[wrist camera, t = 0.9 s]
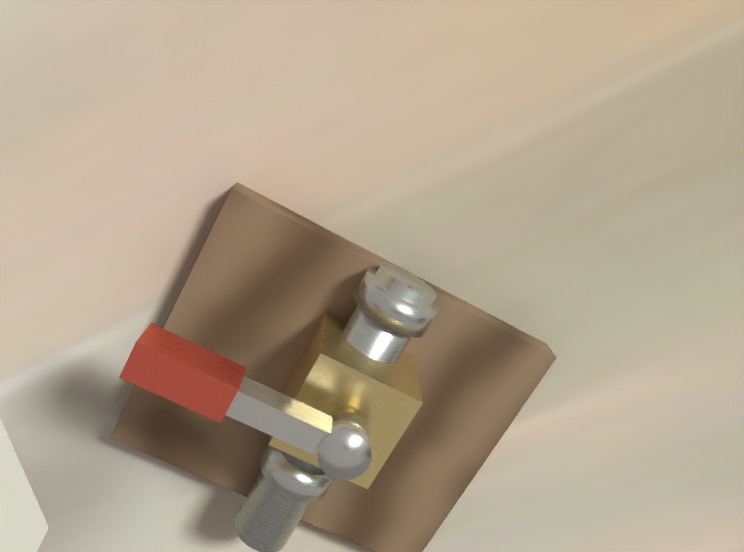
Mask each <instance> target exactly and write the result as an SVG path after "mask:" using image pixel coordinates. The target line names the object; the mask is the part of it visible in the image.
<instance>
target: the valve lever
mask: <svg viewBox="0 0 744 552" xmlns="http://www.w3.org/2000/svg"><path fill="white" fill-rule="evenodd" d="M245 371H246V367H244V366H242V365H240V364H238V363H236V362H234V361H231V360H229V359H227V358H225V357H223V356H221V355H219V354H217V353H214V352H212V351H210V350H208V349H206V348H204V347H202V346H199V345H197V344H195V343H193V342H191V341H189V340H187V339H185V338H182V337H180V336H178V335H176V334H174V333H172V332H170V331H167V330H165V329H163V328H161V327H159V326H157V325H155V324H153V323H151V324H150V326H149V327H148V328H147V329H146V330H145V332H144V333H143V334H142V335H141V337H140V338H139V339H138V340H137V342H136V344H135V346H134V348H133V350H132V352H131V354H130V356H129V358H128V360H127V362H126V365H125V367H124V369H123V371H122V373H121V375H120V377H119V378H121V379H124V380H126V381H128V382H130V383H133V384H135V385H137V386H139V387H142V388H144V389H146V390H148V391H150V392H153V393H155V394H157V395H159V396H162V397H164V398H166V399H168V400H171V401H173V402H175V403H177V404H179V405H182V406H184V407H186V408H188V409H191V410H193V411H195V412H197V413H200V414H202V415H204V416H206V417H208V418H211V419H213V420H215V421H217V422H220V423H221V421H222V420H223V418H224V416H225V415H227V416H229V417H231V418H233V419H235V420H238V421H240V422H242V423H244V424H247V425H249V426H251V427H253V428H255V429H258V430H260V431H262V432H264V433H266V434H269V435H271V436H273V437H275V438H278V439H280V440H282V441H284V442H286V443H289V444H291V445H293V446H295V447H297V448H300V449H302V450H304V451H306V452H309V453H311V454H313V455H315V456H317V459H318V464H319V466H320V468H321V469H322V471H323V472H324V473H325V474H327V475H328V476H330V477H332V478H334V479H338V480H350V479H354V478H357V477H359V476H360V475H362V474H363V473H364V472H365V471H366V470H367V469H368V467H369V465H370V463H371V436H370V428H369V426H368V424H367V422H366V421H365V420H364V419H363V418H362V417H361V416H359V415H357V414H355V413H351V412H339V413H335V414H333V415H331V416H329V415H327V414H325V413H323V412H321V411H319V410H317V409H314V408H312V407H310V406H308V405H306V404H304V403H302V402H299V401H297V400H295V399H293V398H291V397H289V396H286V395H284V394H282V393H280V392H278V391H276V390H274V389H271V388H269V387H267V386H265V385H263V384H261V383H259V382H256V381H254V380H252V379H250V378H248V377H246V376H244V374H245Z"/></svg>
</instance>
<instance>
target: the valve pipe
mask: <svg viewBox="0 0 744 552" xmlns="http://www.w3.org/2000/svg"><path fill="white" fill-rule="evenodd" d="M353 296H354V299H355V301H356V303H357V304H358V305H357V307H356V308H355V310H354V312H353V314H352V315H351V317H350V319H349V321H348V322H347V321H345V320H343V319H341V318H339V317H337V316H335V315H333V314H331V313H329V312H327V311H325V313H324V314H323V316H322V318H321V320H320V322H319V323H318V325H317V327H316V329H315V330H314V332H313V334H312V336H311V338H310V339H309V341H308V343H307V345H306V346H305V348H304V350H303V352H302V354H301V355H300V357H299V359H298V361H297V363H296V364H295V366H294V368H293V370H292V371H291V373H290V375H289V377H288V379H287V380H286V382H285V384H284V386H283V387H282V389H281V392H280V393H282V394H284V395H286V396H289V397H291V398H293V399H295V400H297V401H299V402H302V403H304V404H306V405H308V406H310V407H312V408H314V409H317V410H319V411H321V412H323V413H325V414H327V415H329V416H331V415H333V414H335V413H339V412H351V413H355V414H357V415H359V416H361V417H362V418H363V419H364V420H365V421H366V422H367V424H368V426H369V428H370V436H371V463H370V465H369V467H368V469H367V470H366V471H365V472H364V473H363V474H362V475H360V476H359V477H357V478H354V479H350V480H348V481H350V482H352V483H355V484H357V485H359V486H361V487H364V488H366V489H368V488H369V487H370V485H371V483H372V482H373V480H374V479H375V477H376V476H377V474H378V472H379V471H380V469H381V468H382V466H383V465H384V463H385V462H386V460H387V458H388V457H389V455H390V454H391V452H392V451H393V449H394V447H395V446H396V444H397V443H398V441H399V440H400V438H401V436H402V435H403V433H404V432H405V430H406V429H407V427H408V425H409V424H410V422H411V421H412V419H413V418H414V416H415V415H416V413H417V411H418V410H419V408H420V407H421V405H422V404H423V401H422V396H421V391H420V387H419V382H418V377H417V373H416V368H415V364H414V359H413V354H411V353H409V352H407V351H405V350H404V349H405V348H406V346H407V344H408V343H409V341H410V339H411V338H412V337H422V336H423V335H424V334H425V332H426V330H427V329H428V327H429V326H430V324H431V322H432V321H433V319H434V317H435V316H436V314H437V313H438V307H437V305H436V304H435V303H434V300H435V299H436V297H437V294H436V292H435V291H434V289H433V288H432V287H431V286H429V285H428V284H427V283H426V282H424V281H423V280H422V279H420V278H419V277H417V276H416V275H414V274H412V273H411V272H409V271H407V270H405V269H403V268H401V267H399V266H396V265H394V264H390V263H381V265H380V267H379V269H376V268H369V269H368V270H367V272H366V273H365V275H364V277H363V279H362V280H361V282H360V284H359V286H358V287H357V289H356V291H355V293H354V295H353ZM260 468H261V471H262V472H261V473H260V475H259V477H258V479H257V480H256V482H255V484H254V486H253V487H252V489H251V491H250V493H249V494H248V496H247V498H246V500H245V501H244V503H243V505H242V506H241V508H240V510H239V512H238V513H237V515H236V517H235V521H234V526H235V530H236V532H237V534H238V536H239V537H240V538H241V540H242V541H243V542H244V543H245V544H247V545H248V546H249V547H251V548H253V549H255V550H257V551H260V552H277V551H279V550H281V549H282V548H283V547H284V545H285V544H286V542H287V541H288V539H289V537H290V536H291V534H292V532H293V531H294V529H295V527H296V526H297V524H298V523H299V521H300V519H301V518H302V516H303V514H304V513H305V511H306V509H307V508H308V506H309V505H310V503H311V502H314V501H318V500H320V499H322V498H323V497H324V496H325V494H326V492H327V491H328V489H329V488H330V486H331V484H332V483H333V481H334V480H335V479H334V478H332V477H330V476H328V475H327V474H325V473H324V472H323V471H322V469H321V468H320V466H319V464H318V459H317V456H315V455H313V454H311V453H309V452H306V451H304V450H302V449H300V448H297V447H295V446H293V445H291V444H289V443H286V442H284V441H282V440H280V439H278V438H275V437H273V436H270V440H269V443H268V445H267V447H266V448H265V450H264V452H263V454H262V455H261V458H260Z"/></svg>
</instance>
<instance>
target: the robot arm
mask: <svg viewBox="0 0 744 552" xmlns="http://www.w3.org/2000/svg"><path fill="white" fill-rule="evenodd" d="M48 528H49V527H48V525H47V522H46V520H45V518H44V516H43V513H42V511H41V509H40V507H39V504H38V502H37V500H36V498H35V495H34V493H33V491H32V489H31V486H30V484H29V482H28V480H27V477H26V475H25V473H24V471H23V468H22V466H21V464H20V462H19V459H18V457H17V455H16V453H15V450H14V448H13V446H12V444H11V441H10V439H9V437H8V434H7V432H6V430H5V428H4V425H3V423H2V421H1V419H0V552H37V551H38V549H39V547H40V545H41V543H42V541H43V538H44V536H45V534H46V532H47V530H48Z"/></svg>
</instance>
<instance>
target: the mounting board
mask: <svg viewBox="0 0 744 552" xmlns="http://www.w3.org/2000/svg"><path fill="white" fill-rule="evenodd" d="M381 263H390V262H388V261H386V260H385V259H383V258H381V257H379V256H377V255H375V254H373V253H371V252H369V251H367V250H365V249H364V248H362V247H360V246H358V245H356V244H354V243H352V242H350V241H348V240H346V239H344V238H342V237H341V236H339V235H337V234H335V233H333V232H331V231H329V230H327V229H325V228H323V227H321V226H320V225H318V224H316V223H314V222H312V221H310V220H308V219H306V218H304V217H302V216H300V215H298V214H297V213H295V212H293V211H291V210H289V209H287V208H285V207H283V206H281V205H279V204H277V203H276V202H274V201H272V200H270V199H268V198H266V197H264V196H262V195H260V194H258V193H256V192H254V191H253V190H251V189H249V188H247V187H245V186H243V185H241V184H239V183H237V184H236V185H235V186H234V187H233V188H231V190H230V192H229V195H228V197H227V199H226V201H225V203H224V205H223V207H222V209H221V211H220V213H219V215H218V217H217V219H216V221H215V223H214V225H213V227H212V229H211V232H210V234H209V236H208V238H207V240H206V242H205V244H204V246H203V248H202V250H201V252H200V254H199V256H198V258H197V260H196V262H195V264H194V266H193V268H192V271H191V273H190V275H189V277H188V279H187V281H186V283H185V285H184V287H183V289H182V291H181V293H180V295H179V297H178V299H177V301H176V303H175V305H174V308H173V310H172V312H171V314H170V316H169V318H168V320H167V322H166V324H165V326H164V328H163V329H165V330H167V331H170V332H172V333H174V334H176V335H178V336H180V337H182V338H185V339H187V340H189V341H191V342H193V343H195V344H197V345H199V346H202V347H204V348H206V349H208V350H210V351H212V352H214V353H217V354H219V355H221V356H223V357H225V358H227V359H229V360H231V361H234V362H236V363H238V364H240V365H242V366H244V367H246V371H245V374H244V376H246V377H248V378H250V379H252V380H254V381H256V382H259V383H261V384H263V385H265V386H267V387H269V388H271V389H274V390H276V391H278V392H281V389H282V387H283V386H284V384H285V382H286V380H287V379H288V377H289V375H290V373H291V371H292V370H293V368H294V366H295V364H296V363H297V361H298V359H299V357H300V355H301V354H302V352H303V350H304V348H305V346H306V345H307V343H308V341H309V339H310V338H311V336H312V334H313V332H314V330H315V329H316V327H317V325H318V323H319V322H320V320H321V318H322V316H323V314H324V313H325V311H327V312H329V313H331V314H333V315H335V316H337V317H339V318H341V319H343V320H345V321H347V322H348V321H349V319H350V317H351V315H352V314H353V312H354V310H355V308H356V307H357V305H358V304H357V303H356V301H355V299H354V296H353V295H354V293H355V291H356V289H357V287H358V286H359V284H360V282H361V280H362V279H363V277H364V275H365V273H366V272H367V270H368V269H369V268H376V269H379V267H380V265H381ZM390 264H392V263H390ZM420 279H421V278H420ZM422 280H423V279H422ZM423 281H424V282H426V283H427V284H428V285H429V286H431V287H432V288H433V289H434V291H435V292H436V294H437V297H436V299H435V300H434V303H435V304H436V305H437V307H438V313H437V314H436V316H435V317H434V319H433V321H432V322H431V324H430V326H429V327H428V329H427V330H426V332H425V334H424V335H423V336H422V337H412V338H411V339H410V341H409V343H408V344H407V346H406V348H405V349H404V350H405V351H407V352H409V353H411V354H413V359H414V364H415V368H416V373H417V377H418V382H419V387H420V391H421V396H422V401H423V404H422V405H421V407H420V408H419V410H418V411H417V413H416V415H415V416H414V418H413V419H412V421H411V422H410V424H409V425H408V427H407V429H406V430H405V432H404V433H403V435H402V436H401V438H400V440H399V441H398V443H397V444H396V446H395V447H394V449H393V451H392V452H391V454H390V455H389V457H388V458H387V460H386V462H385V463H384V465H383V466H382V468H381V469H380V471H379V472H378V474H377V476H376V477H375V479H374V480H373V482H372V483H371V485H370V487H369V488H368V489H366V488H364V487H361V486H359V485H357V484H355V483H352V482H350V481H348V480H338V479H335V480H334V481H333V483H332V484H331V486H330V488H329V489H328V491H327V492H326V494H325V496H324V497H323V498H322V499H320V500H318V501H314V502H311V503H310V505H309V506H308V508H307V509H306V511H305V513H304V514H303V516H302V518H301V519H300V520H302V521H305V522H307V523H309V524H312V525H314V526H316V527H319V528H321V529H323V530H326V531H328V532H330V533H333V534H335V535H337V536H340V537H342V538H344V539H347V540H349V541H351V542H354V543H356V544H358V545H361V546H363V547H365V548H368V549H370V550H372V551H375V552H423V550H424V549H425V547H426V546H427V544H428V543H429V541H430V540H431V539H432V537H433V536H434V534H435V533H436V531H437V530H438V528H439V527H440V526H441V524H442V523H443V521H444V520H445V518H446V517H447V515H448V514H449V512H450V511H451V510H452V508H453V507H454V505H455V504H456V502H457V501H458V499H459V498H460V497H461V495H462V494H463V492H464V491H465V489H466V488H467V486H468V485H469V484H470V482H471V481H472V479H473V478H474V476H475V475H476V473H477V472H478V470H479V469H480V468H481V466H482V465H483V463H484V462H485V460H486V459H487V457H488V456H489V455H490V453H491V452H492V450H493V449H494V447H495V446H496V444H497V443H498V441H499V440H500V439H501V437H502V436H503V434H504V433H505V431H506V430H507V428H508V427H509V426H510V424H511V423H512V421H513V420H514V418H515V417H516V415H517V414H518V413H519V411H520V410H521V408H522V407H523V405H524V404H525V402H526V401H527V399H528V398H529V397H530V395H531V394H532V392H533V391H534V389H535V388H536V386H537V385H538V384H539V382H540V381H541V379H542V378H543V376H544V375H545V373H546V372H547V371H548V369H549V368H550V366H551V365H552V363H553V362H554V360H555V359H556V356H555V355H554V353H553V352H552V351H551V349H550V348H549V347H548V345H547V344H545V343H543V342H541V341H539V340H538V339H536V338H534V337H532V336H530V335H528V334H526V333H524V332H522V331H520V330H518V329H517V328H515V327H513V326H511V325H509V324H507V323H505V322H503V321H501V320H499V319H497V318H495V317H494V316H492V315H490V314H488V313H486V312H484V311H482V310H480V309H478V308H476V307H474V306H473V305H471V304H469V303H467V302H465V301H463V300H461V299H459V298H457V297H455V296H453V295H451V294H450V293H448V292H446V291H444V290H442V289H440V288H438V287H436V286H434V285H432V284H430V283H429V282H427V281H425V280H423ZM270 436H271V435H269V434H266V433H264V432H262V431H260V430H258V429H255V428H253V427H251V426H249V425H247V424H244V423H242V422H240V421H238V420H235V419H233V418H231V417H229V416H227V415H225V416H224V418H223V420H222V421H221V423H220V422H217V421H215V420H213V419H211V418H208V417H206V416H204V415H202V414H200V413H197V412H195V411H193V410H191V409H188V408H186V407H184V406H182V405H179V404H177V403H175V402H173V401H171V400H168V399H166V398H164V397H162V396H159V395H157V394H155V393H153V392H150V391H148V390H146V389H144V388H142V387H139V386H137V385H136V386H135V388H134V390H133V392H132V394H131V396H130V398H129V400H128V402H127V404H126V406H125V408H124V410H123V412H122V414H121V416H120V419H119V421H118V423H117V425H116V427H115V429H114V431H113V433H112V435H111V437H110V438H112V439H114V440H116V441H118V442H121V443H123V444H125V445H128V446H130V447H132V448H135V449H137V450H139V451H142V452H144V453H146V454H149V455H151V456H153V457H156V458H158V459H160V460H163V461H165V462H167V463H170V464H172V465H174V466H177V467H179V468H181V469H184V470H186V471H188V472H191V473H193V474H195V475H198V476H200V477H202V478H205V479H207V480H209V481H212V482H214V483H216V484H219V485H221V486H223V487H226V488H228V489H230V490H233V491H235V492H237V493H240V494H242V495H244V496H248V494H249V493H250V491H251V489H252V487H253V486H254V484H255V482H256V480H257V479H258V477H259V475H260V473H261V472H262V471H261V468H260V458H261V455H262V454H263V452H264V450H265V448H266V447H267V445H268V443H269V440H270Z"/></svg>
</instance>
